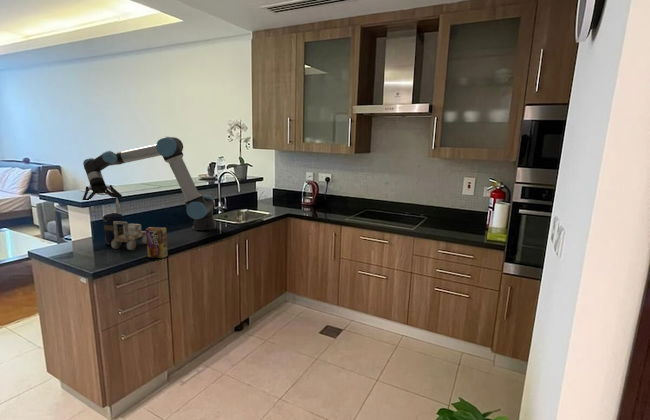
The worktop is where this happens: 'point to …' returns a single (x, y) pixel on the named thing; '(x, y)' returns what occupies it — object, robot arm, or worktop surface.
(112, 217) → the canister
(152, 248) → the candy box
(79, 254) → the worktop surface
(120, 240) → the wooden toy truck
